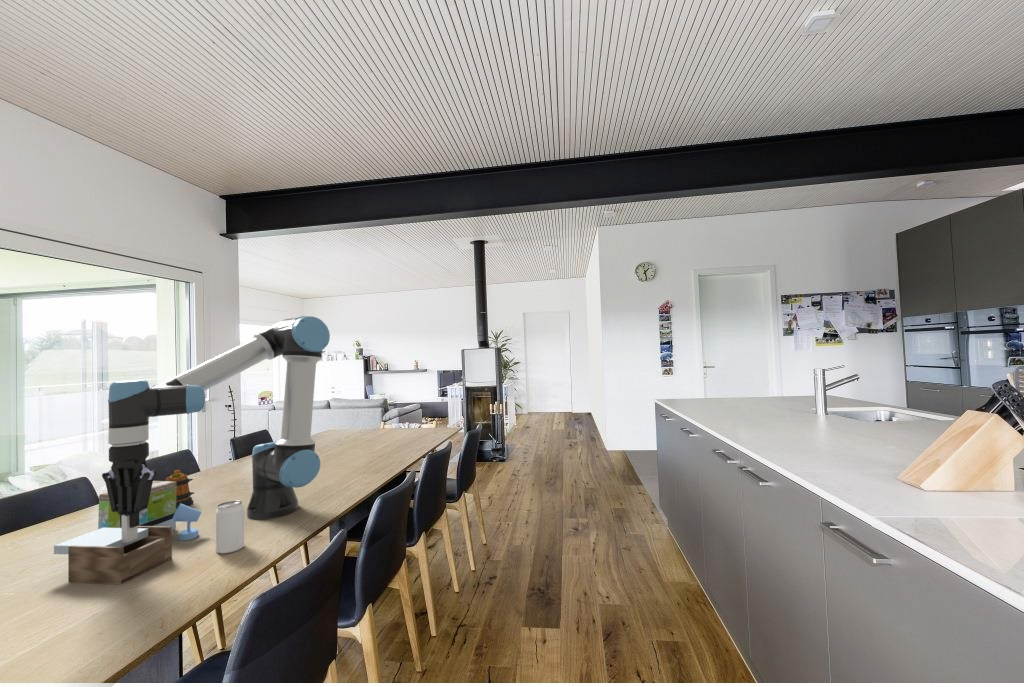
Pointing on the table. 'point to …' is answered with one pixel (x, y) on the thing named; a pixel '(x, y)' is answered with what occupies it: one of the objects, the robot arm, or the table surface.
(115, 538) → the cover plate
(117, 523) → the tea box
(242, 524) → the can
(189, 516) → the spotlight
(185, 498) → the mug
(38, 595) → the table surface
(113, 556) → the walnut box
